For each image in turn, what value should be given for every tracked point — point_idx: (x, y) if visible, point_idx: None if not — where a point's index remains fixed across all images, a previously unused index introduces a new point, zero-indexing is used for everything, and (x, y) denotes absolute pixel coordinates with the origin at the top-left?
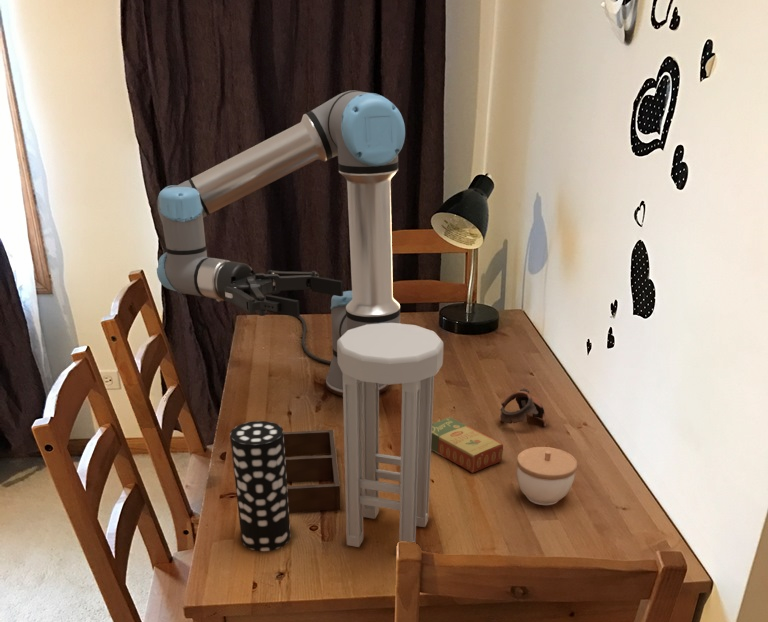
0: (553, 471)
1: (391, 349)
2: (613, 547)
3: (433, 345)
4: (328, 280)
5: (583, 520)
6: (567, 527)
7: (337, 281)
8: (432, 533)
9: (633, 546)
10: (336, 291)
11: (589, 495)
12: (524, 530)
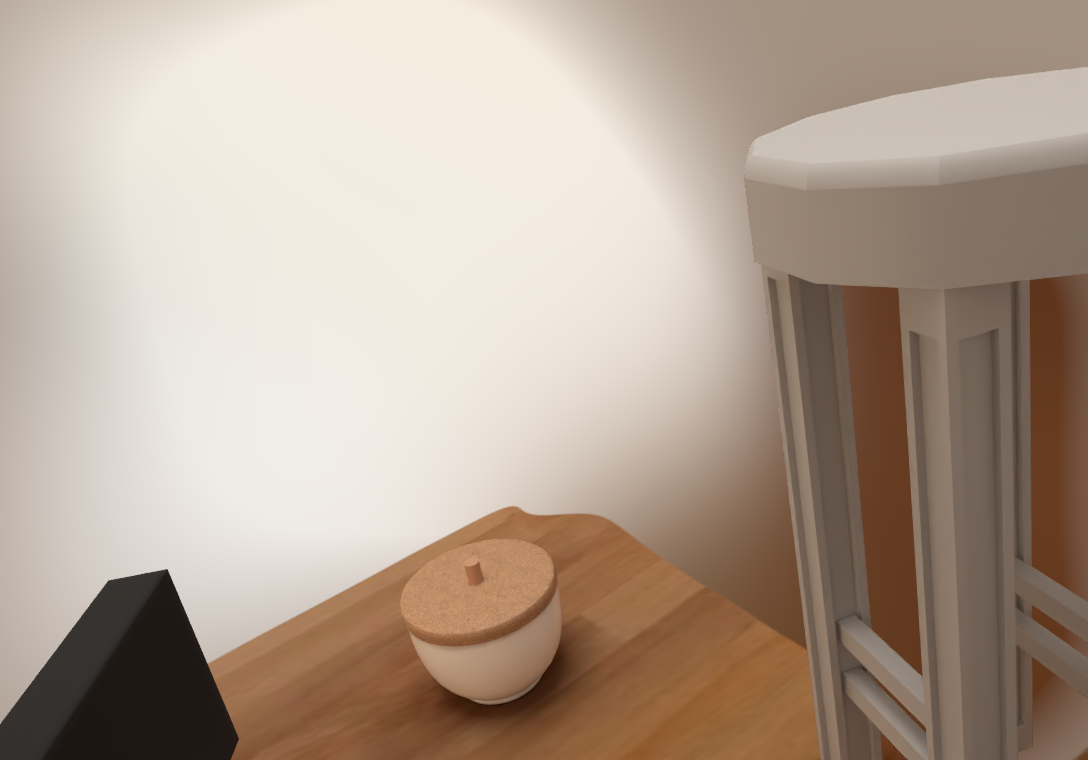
0: (527, 550)
1: (1038, 81)
2: (609, 531)
3: (870, 101)
4: (65, 738)
5: None
6: (597, 593)
7: (142, 604)
8: None
9: (584, 519)
10: (197, 743)
11: None
12: (669, 631)
